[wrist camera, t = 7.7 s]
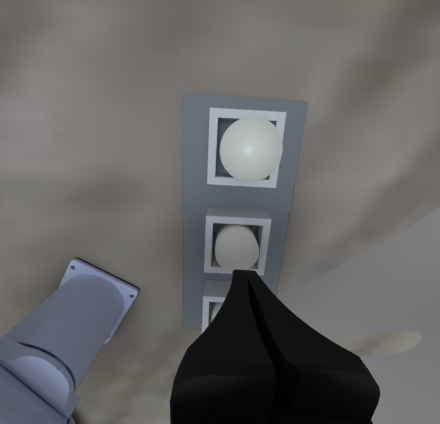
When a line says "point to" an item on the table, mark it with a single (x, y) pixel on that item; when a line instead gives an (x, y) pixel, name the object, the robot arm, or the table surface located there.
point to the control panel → (232, 196)
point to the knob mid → (236, 246)
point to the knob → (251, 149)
